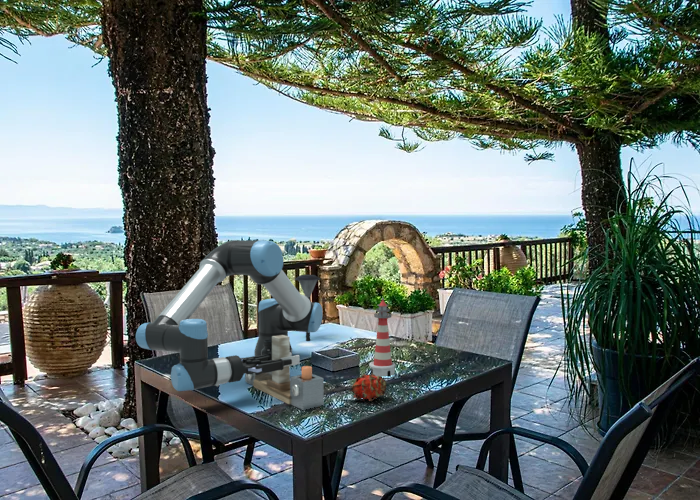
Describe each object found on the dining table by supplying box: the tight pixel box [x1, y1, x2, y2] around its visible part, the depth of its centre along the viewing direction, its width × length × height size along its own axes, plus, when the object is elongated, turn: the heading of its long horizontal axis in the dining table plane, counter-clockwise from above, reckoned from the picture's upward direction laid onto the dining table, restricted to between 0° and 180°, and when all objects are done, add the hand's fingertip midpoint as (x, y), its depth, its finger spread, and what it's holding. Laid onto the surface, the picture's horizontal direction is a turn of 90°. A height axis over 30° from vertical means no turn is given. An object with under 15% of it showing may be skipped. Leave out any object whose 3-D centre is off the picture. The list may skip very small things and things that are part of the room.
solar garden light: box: [294, 274, 321, 342], centre depth 249 cm, size 12×12×30 cm
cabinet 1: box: [244, 372, 272, 387], centre depth 182 cm, size 8×7×5 cm
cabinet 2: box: [289, 373, 325, 411], centre depth 159 cm, size 8×7×8 cm
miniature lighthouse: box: [368, 297, 396, 376], centre depth 190 cm, size 9×9×30 cm
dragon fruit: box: [349, 372, 388, 402], centre depth 163 cm, size 8×8×12 cm
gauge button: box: [301, 365, 313, 380], centre depth 159 cm, size 3×3×6 cm
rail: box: [253, 380, 291, 405], centre depth 170 cm, size 8×22×2 cm, turn 37°
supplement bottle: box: [261, 340, 272, 356], centre depth 192 cm, size 7×7×12 cm
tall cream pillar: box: [267, 335, 291, 392], centre depth 170 cm, size 6×8×16 cm
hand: (294, 358), depth 173 cm, fingers closed on tall cream pillar, 4 cm apart
